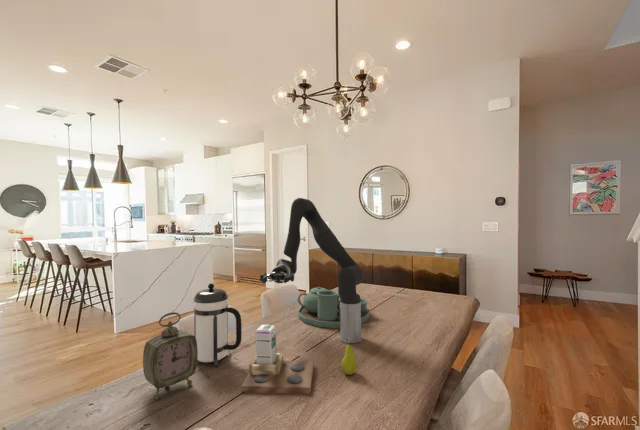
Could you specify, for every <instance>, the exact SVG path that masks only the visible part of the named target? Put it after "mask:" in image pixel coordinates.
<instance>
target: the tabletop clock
mask: <svg viewBox="0 0 640 430" xmlns="http://www.w3.org/2000/svg"><path fill="white" fill-rule="evenodd" d="M171 315H177V316H178V319H177V320H176V321H174V322H172V321H168V323H167V324H163V323H162V320H163V319H164V318H165V317H166V318H167V317H168V316H171ZM181 318H182V316H181V314H180V313H178V312H175V311H174V312H173V311H172V312H169V313H165V314H164V315H162V316H161V317H160V318H159V321H158V325H160V326H161V327H163V328H164V329H163V330H162V331H161V334H158V335H156V336H152V337H151V338H149V339H148V340H146V341H145V345H144V348H143V352H142V353H143V355H142V369H143V375H144V378H145V380H146V381H147V382H149V384H151V385H152V386H154V388H155V389H156V393H155V394H154V395H153V399H154V400H158V399H159V398H160V394H159V392H160V389H164V388H170V386H174V385H176V384H178V383H181V382H183V381H184V380H186V384H187V385H188V386H191V385H192V384H193V380H192V379H189V378H190V377H191V376H193V375H195V373H196V370H197V366H198V362H197V357H198V350H197V341H196V338H195V336H194V334H192V333H189V332H187V331H185V330H182V329H178V327H176V326H175V325H177V324H178V323H179V322H180V321H181Z"/></svg>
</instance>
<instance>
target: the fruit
mask: <svg viewBox="0 0 640 430" xmlns="http://www.w3.org/2000/svg"><path fill="white" fill-rule="evenodd" d="M346 340H347V339H346ZM347 342H348V340H347ZM344 352H345V353H344V357H343V358H342V360H341V362H340V364H341V365H340V367H341V369H342V372H344V373H345V374H346V375H348V376H350V375H353V374H354V373H356V371H357V368H358V362H357V359H356V356H355V353H354V350H353V348H352V346H351V345H350V343H347V344H346V348H345V351H344Z"/></svg>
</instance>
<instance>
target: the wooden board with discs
mask: <svg viewBox="0 0 640 430" xmlns="http://www.w3.org/2000/svg"><path fill="white" fill-rule="evenodd" d="M276 362H277V363H276V365H265V364H256V353H255V354H254V356H253V357H252V359H251V360H250V363H249V365H248V372H247V373H248V374H247V375H246V377H245V379H244V381H243V383H242V385H241V393H251V394H252V393H254V394H255V393H256V394H257V393H258V394H262V393H263V394H296V395H297V394H302V395H303V394H305V395H306V394H307V395H310V394H311V390H312V384H313V383H312V382H313V377H314V375H313V374H314V369H315V367H314V365H315V363H314V362H315V361H313V360H309V361H308V360H284V353H280V352H276Z"/></svg>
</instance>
